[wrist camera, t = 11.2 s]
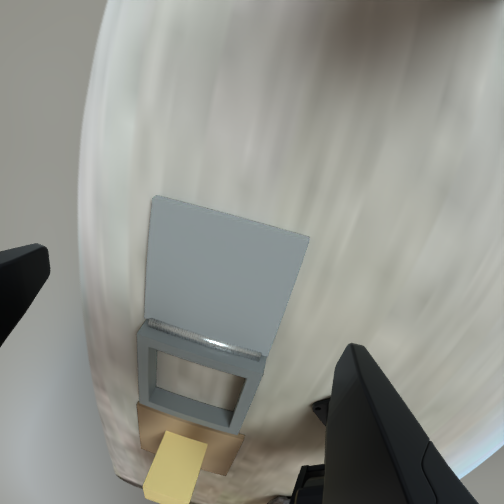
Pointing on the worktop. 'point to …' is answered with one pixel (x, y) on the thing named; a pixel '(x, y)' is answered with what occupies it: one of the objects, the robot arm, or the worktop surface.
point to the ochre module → (174, 470)
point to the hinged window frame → (213, 301)
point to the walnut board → (219, 442)
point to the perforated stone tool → (280, 500)
